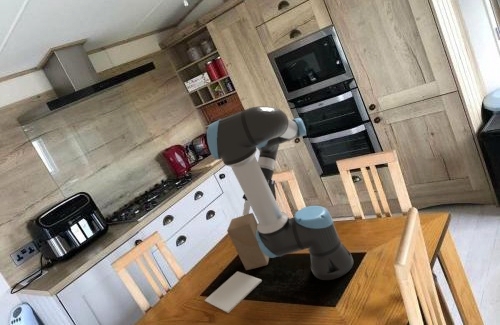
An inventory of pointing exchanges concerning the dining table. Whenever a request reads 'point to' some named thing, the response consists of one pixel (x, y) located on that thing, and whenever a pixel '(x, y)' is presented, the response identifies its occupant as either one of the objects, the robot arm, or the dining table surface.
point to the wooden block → (247, 241)
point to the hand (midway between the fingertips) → (254, 217)
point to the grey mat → (233, 291)
